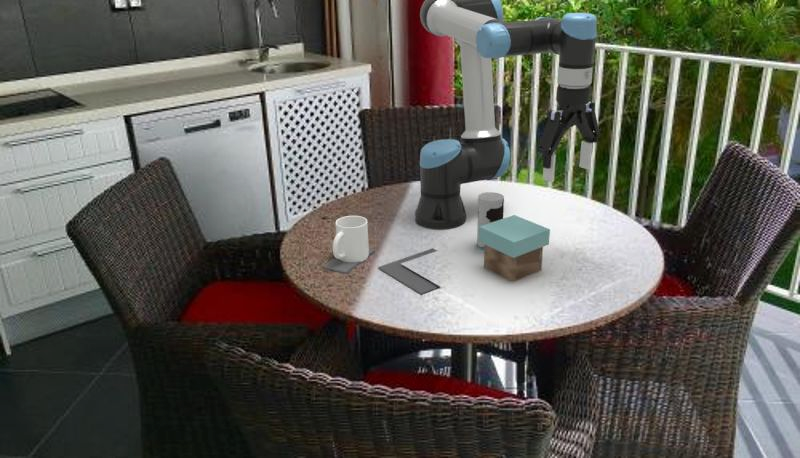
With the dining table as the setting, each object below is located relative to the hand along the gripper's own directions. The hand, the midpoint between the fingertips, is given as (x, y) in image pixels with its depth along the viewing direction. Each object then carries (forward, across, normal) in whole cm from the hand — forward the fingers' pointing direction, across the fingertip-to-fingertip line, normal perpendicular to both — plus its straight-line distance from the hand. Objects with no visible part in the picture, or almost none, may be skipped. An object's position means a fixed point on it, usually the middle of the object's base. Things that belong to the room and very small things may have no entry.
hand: (566, 174), depth 162 cm
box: (+25, -11, +6) cm, 28 cm away
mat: (+25, -26, +20) cm, 42 cm away
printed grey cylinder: (+25, -6, +19) cm, 32 cm away
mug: (+25, -38, +39) cm, 60 cm away
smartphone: (+26, -38, +39) cm, 60 cm away
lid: (+18, -11, +6) cm, 22 cm away
